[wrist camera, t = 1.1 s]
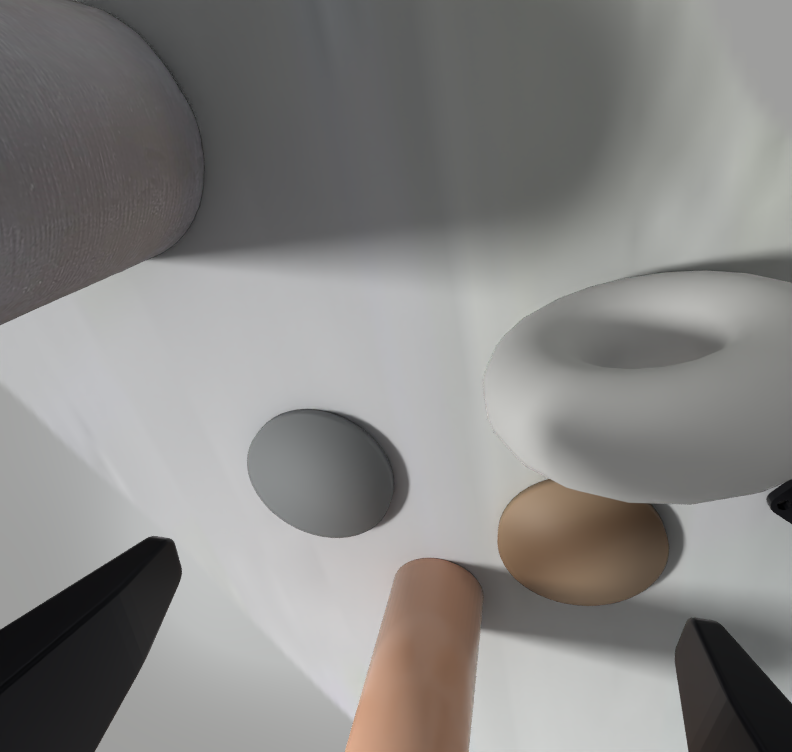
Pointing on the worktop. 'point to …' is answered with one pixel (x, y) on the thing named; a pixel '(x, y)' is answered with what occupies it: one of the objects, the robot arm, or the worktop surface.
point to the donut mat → (581, 545)
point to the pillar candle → (86, 152)
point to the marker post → (422, 663)
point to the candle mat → (321, 473)
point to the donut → (652, 387)
